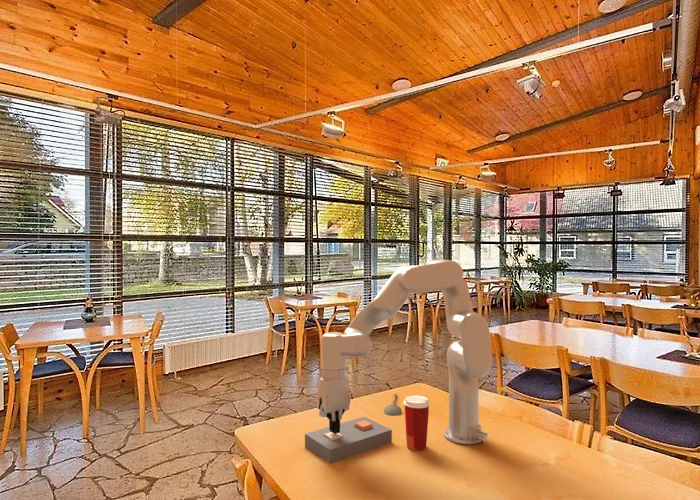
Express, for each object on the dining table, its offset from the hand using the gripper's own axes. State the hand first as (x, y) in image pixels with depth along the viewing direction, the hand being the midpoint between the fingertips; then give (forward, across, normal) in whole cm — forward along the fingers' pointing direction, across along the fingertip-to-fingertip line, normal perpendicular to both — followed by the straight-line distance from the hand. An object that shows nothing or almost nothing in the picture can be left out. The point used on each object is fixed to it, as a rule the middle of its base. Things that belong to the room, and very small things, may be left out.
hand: (334, 432), depth 136 cm
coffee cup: (+6, -22, +14) cm, 26 cm away
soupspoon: (+7, -41, -18) cm, 45 cm away
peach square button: (+5, -11, 0) cm, 12 cm away
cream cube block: (+5, +1, 0) cm, 5 cm away
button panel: (+5, -6, 0) cm, 8 cm away
